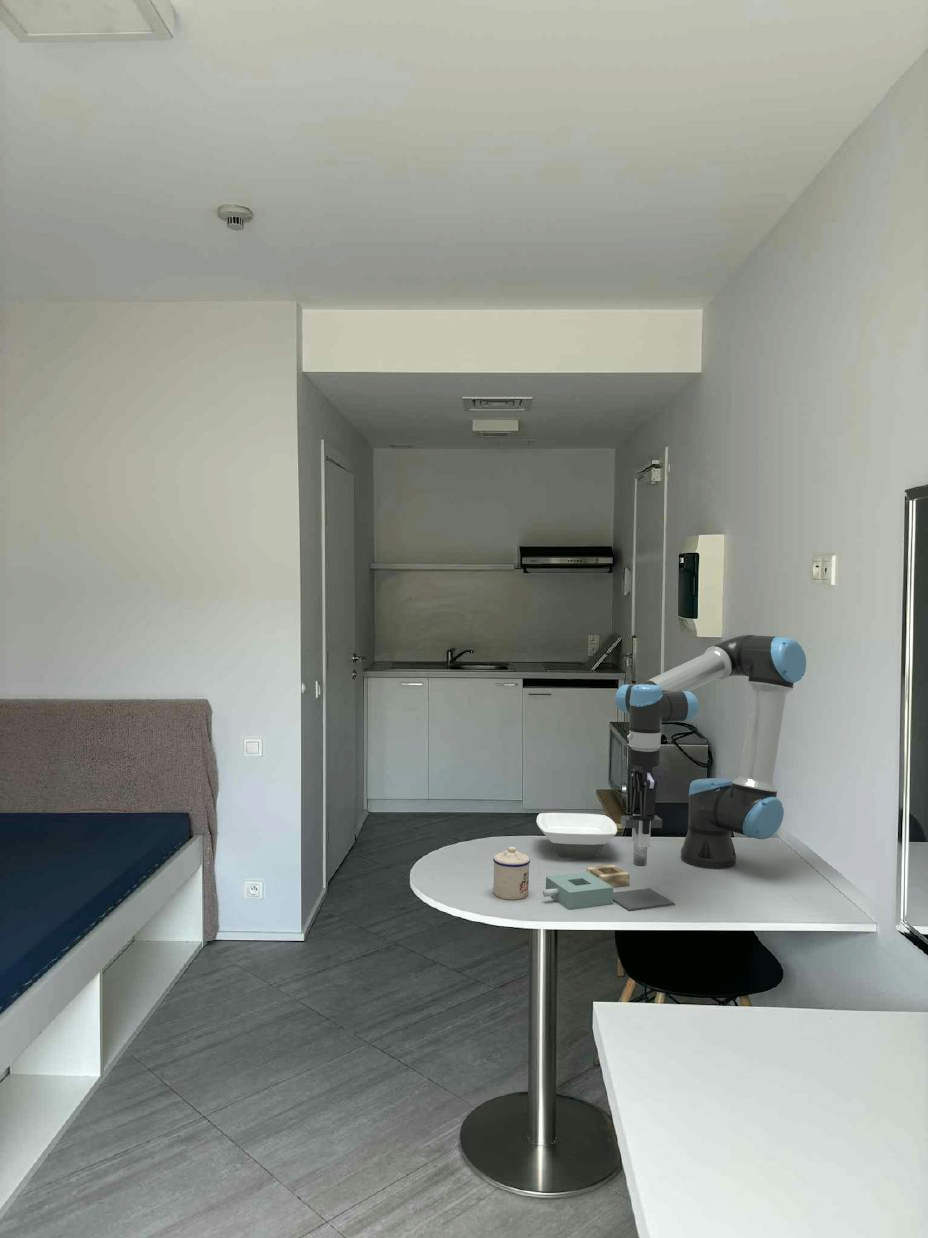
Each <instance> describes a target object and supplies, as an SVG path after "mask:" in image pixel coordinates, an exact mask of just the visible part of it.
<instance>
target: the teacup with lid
mask: <svg viewBox="0 0 928 1238" xmlns="http://www.w3.org/2000/svg"><path fill="white" fill-rule="evenodd" d="M492 861H493V862H494V863H493V888H492V889H493V895H494V896H496V897H497V898H500V899H503V900H509V901H511V900H512V901H515V900H522V899H524V898H526V897H528V895H529V883H530V882H529V881H530V880H529V878H530V876H529V875H530V863H531V860H530V857H529V856H528V855H526V854H524V853H521V852H520V851H518V850H517V848H516V846H509V847H507V850H505V851H503V852H499V853H497V854H495V855H494V857H493V859H492Z"/></svg>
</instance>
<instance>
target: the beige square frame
mask: <svg viewBox="0 0 928 1238" xmlns="http://www.w3.org/2000/svg"><path fill="white" fill-rule="evenodd" d="M586 872H589V873H591V874H593V875H594V876H596V877H597V878H599V879H601V880H602V881H604V882H606V883H607V884H609V885H610V886H612V887H613V888H619V887H627V886H629V887H630V877H631V876H630V873H629V872H627V871H625V870H623V869H622V868H620V867H618V866H616V865H615V864H607V865H596V866H588V867H586Z"/></svg>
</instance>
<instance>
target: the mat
mask: <svg viewBox="0 0 928 1238" xmlns="http://www.w3.org/2000/svg"><path fill="white" fill-rule="evenodd" d="M613 903H616V904H617V905H618V906H621V907H622V908H623V909H625V910H627V911H628V912H632V911H640V910H647V909H654V908H662V907H671V906H675V905H676V903H675V902H674V901H672V900H671V899H670V898H668V897H666V896H664V895H662V894H660V893H658V892H657V891H655V890H653V889H652V888H650V887H646V888H638V889H630V890H622V891H616V892H615V891H613Z"/></svg>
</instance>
